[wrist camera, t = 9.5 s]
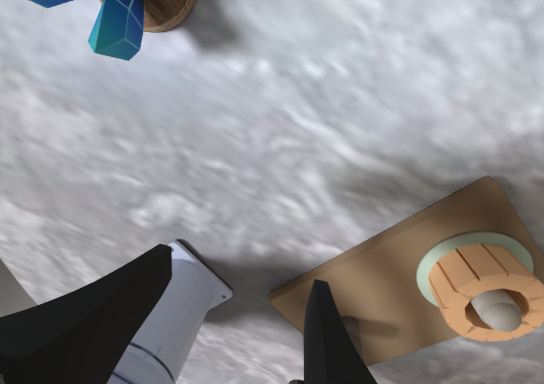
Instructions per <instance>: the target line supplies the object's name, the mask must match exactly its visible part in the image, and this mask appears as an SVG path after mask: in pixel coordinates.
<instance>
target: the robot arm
mask: <svg viewBox="0 0 544 384" xmlns="http://www.w3.org/2000/svg"><path fill="white" fill-rule="evenodd" d="M172 248H173V249H172ZM224 295H225V296H224ZM232 295H233V292H232V290H231V289H229V288H228V287H227V286H226V285H225V284H224V283H223V282H222V281H221V280H220V279H219V278H218V277H216V276H215V275H214V274H213V273H212V272H211V271H210V270H209V269H208V268H207V267H206V266H205V265H203V264H202V263H201V262H200V261H199V260H198V259H197V258H196V257H195V256H194V255H193V254H192V253H190V252H189V251H188V250H187V249H186V248H185V247H184V246H183V245H182V244H181V243H180V242H178V241H172V242H171V243H170V244H168V245H163V244H159V245H157V246H155V247H154V248H152V249H151V250H149V251H147V252H146V253H144V254H142V255H141V256H139V257H137V258H136V259H134V260H133V261H131V262H129V263H127V264H126V265H124V266H122V267H121V268H119V269H117V270H115V271H113V272H112V273H110V274H108V275H106V276H104V277H102V278H100V279H99V280H97V281H95V282H93V283H90V284H88V285H86V286H84V287H82V288H80V289H78V290H75V291H73V292H71V293H68V294H66V295H63V296H61V297H58V298H56V299H53V300H51V301H48V302H46V303H43V304H40V305H37V306H35V307H32V308H29V309H26V310H23V311H20V312H17V313H13V314H10V315H7V316H4V317H0V384H175V383H176V381H177V379H178V377H179V374H180V372H181V370H182V368H183V365H184V363H185V361H186V359H187V356H188V354H189V352H190V350H191V347H192V345H193V343H194V341H195V338H196V336H197V334H198V332H199V329H200V327H201V325H202V323H203V321H204V318H205V316H206V314H207V312H208V311H209V310H210V309H212V308H214V307H216V306H217V305H219V304H221V303H222V302H224V301H226V300H228V299H229V298H231V297H232ZM304 384H377V382H376V381H375V379H374V378H373V376H372V375H371V373H370V371H369V370H368V368H367V367H366V365H365V363H364V362H363V360H362V358H361V356H360V355H359V353H358V351H357V349H356V347H355V345H354V344H353V342H352V340H351V338H350V336H349V334H348V332H347V329H346V327H345V325H344V323H343V321H342V318H341V316H340V314H339V311H338V309H337V306H336V304H335V301H334V298H333V296H332V293H331V290H330V286H329V284H328V282H326V281H322V280H317V279H314V282H313V286H312V289H311V292H310V296H309V299H308V302H307V306H306V311H305V321H304Z"/></svg>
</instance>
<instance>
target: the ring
mask: <svg viewBox="0 0 544 384" xmlns="http://www.w3.org/2000/svg"><path fill="white" fill-rule="evenodd" d="M438 261H439V262H437V261H436V262H435V264H434V265H433V267H432V269H431V271H430V273H429V274H428V276H429V277H428V281H429V286H430V290H431V292H432V295H433V297H434V299H435V301H436V303H437V305H438V307H439V309H440V311H441V313H442V315H443V317H444V319H445V321H446V323H447V324H448V326H450V327H451V328H452V329H453V330H455V331H456V332H457V333H458V334H460V335H461V336H462V335H463V336H464V337H467V338H471V339H475V340H479V341H485V340H487V342H491V341H502V340H511V336H512V337H513V338H514V339H515V338H518V337H520V336H522V335H524V334H527V333H529V332H531V331H534V330H536V329H535V328H534V327H537V328H539V327H540V326H541V324H542V323H543V322H544V285H543V284H542V283H541V282H540V281H539V280H538V279H537V278H536V277H535V276H534V275H533V274H532V273H531V272H530V271H529V270H528V269H527V268H526V267H525V266H524V265H523V264H522V263H521V262H520V261H519V260H518V259H517V258H516V257H515V256H513V255H512V254H511V253H510V252H509V251H508V250H507V249H505V248H503V247H498V246H493V245H488V244H484V243H483V244H482V245H481V244H480V243H479V244H474V245H468V246H463V247H458V251H457V250H456V249H453V250H452V251H450V252H449V253H447V254H445V255H444V256H442V257H441V258H439V259H438ZM502 288H503V289H504V290H505V291H506V292H507V293H508V295H509V296H510V297H511V298H512V299H513V301H514V302H515V303H516V304H517V305H518V307H519V308H520V310H521V316H522V322H521V325H520V326H519V328H518V329H516V330H514V331H511V332H502V331H498V330H496V329H494V328H492V327H490V326H489V325H488V324H486V323H484V322H483V321H482V319H481V318H480V316H479V315H478V313H477V312H476V310H475V308H474V307H473V305H472V304H471V302H470V300H471V298H473V297H475V296H477V295H479V294H481V293H483V292H484V291H488V290H495V289H502Z"/></svg>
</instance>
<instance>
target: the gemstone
mask: <svg viewBox="0 0 544 384" xmlns="http://www.w3.org/2000/svg"><path fill="white" fill-rule="evenodd" d="M29 1H32V2H34V3H36V4H39V5H41V6H43V7H45V8H50V7H53V6H57V5H60V4H63V3H67V2H70V1H73V0H29ZM195 1H196V0H100V2H101V3H102V6H101V9H100V11H99V14H98V16H97V19H96V21H95V24H94V26H93V29H92V32H91V34H90V37H89V39H88V42H89V44H90V46H91V48H92V50H93V52H94V53H97V54H102V55H106V56H110V57H115V58H119V59H123V60H128V61H129V60H130V59H131V58H132V57H133V56H134V55H135V54H136V53H137V52H138V51H139V50H140V47H141V42H142V37H143V31H144V32H151V33H157V32H163V31H167V30H169V29H172V28H174V27H175V26H177V25H178V24H180V23H181V22H182V21H183V20H184V19H185V18H186V16H187V15H188V14H189V12H190V11H191V9H192V7H193V6H194V3H195Z"/></svg>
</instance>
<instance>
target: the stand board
mask: <svg viewBox="0 0 544 384" xmlns="http://www.w3.org/2000/svg"><path fill="white" fill-rule="evenodd" d="M479 243H480V244H481V245H482V244H483V243H484V244H488V245H493V246H498V247H503V248H505V249H507V250H508V251H509V252H510V253H511V254H512V255H513V256H515V257H516V258H517V259H518V260H519V261H520V262H521V263H522V264H523V265H524V266H525V267H526V268H527V269H528V270H529V271H530V272H531V273H532V274H533V275H534V276H535V277H536V278H537V279H538V280H539V281H540V282H541V283H542V284H543V285H544V256H543V255H542V253H541V251H540V250H539V248H538V247H537V245H536V243H535V242H534V240H533V239H532V237H531V235H530V234H529V232H528V231H527V229H526V227H525V226H524V224H523V223H522V221H521V219H520V218H519V216H518V215H517V213H516V212H515V210H514V208H513V207H512V205H511V204H510V202H509V200H508V199H507V197H506V196H505V194H504V192H503V191H502V189H501V188H500V186H499V184H498V183H497V182H496V181H494V180H493V179H491V178H490V177H488V176H485V177H483V178H481V179H479V180H477V181H475V182H474V183H472V184H470V185H468V186H466V187H464V188H463V189H461V190H459V191H457V192H455V193H453V194H451V195H450V196H448V197H446V198H444V199H442V200H440V201H438V202H437V203H435V204H433V205H431V206H429V207H427V208H426V209H424V210H422V211H420V212H418V213H416V214H414V215H413V216H411V217H409V218H407V219H405V220H403V221H402V222H400V223H398V224H396V225H394V226H392V227H390V228H389V229H387V230H385V231H383V232H381V233H379V234H378V235H376V236H374V237H372V238H370V239H368V240H366V241H365V242H363V243H361V244H359V245H357V246H355V247H353V248H352V249H350V250H348V251H346V252H344V253H342V254H341V255H339V256H337V257H335V258H333V259H331V260H329V261H328V262H326V263H324V264H322V265H320V266H318V267H317V268H315V269H313V270H311V271H309V272H307V273H305V274H304V275H302V276H300V277H298V278H296V279H294V280H293V281H291V282H289V283H287V284H285V285H283V286H281V287H280V288H278V289H276V290H274V291H272V292H271V294H270V298H269V303H270V304H271V305H272V306H273V307H275V308H276V309H277V310H278V311H279V312H280V313H281V314H282V315H283V316H284V317H285V318H286V319H287V320H288V321H289V322H290V323H291V324H292V325H293V326H294V327H296V328H297V329H298V330H299V331H300V332H301V333H302V334H303V335H304V321H305V311H306V306H307V302H308V299H309V296H310V292H311V289H312V286H313V282H314V279H317V280H322V281H326V282H328V284H329V286H330V290H331V293H332V296H333V298H334V301H335V304H336V306H337V309H338V311H339V314H340V316H341V318H342V321H343V323H344V325H345V327H346V329H347V332H348V334H349V336H350V338H351V340H352V342H353V344H354V345H355V347H356V349H357V351H358V353H359V355H360V356H361V358H362V360H363V362H364V363H365V365H366V367H367V366H370V365H373V364H376V363H379V362H382V361H385V360H388V359H391V358H394V357H397V356H400V355H403V354H406V353H409V352H412V351H415V350H418V349H421V348H424V347H427V346H430V345H434V344H437V343H440V342H443V341H446V340H449V339H452V338H455V337H458V336H461V335H460V334H458V333H457V332H456V331H455V330H453V329H452V328H451V327H450V326H448V324H447V323H446V321H445V319H444V317H443V315H442V313H441V311H440V309H439V307H438V305H437V303H436V301H435V299H434V297H433V295H432V292H431V290H430V286H429V281H428V277H429V276H428V274H429V273H430V271H431V269H432V267H433V265H434V264H435V262H436V261H437V262H439V261H438V259H439V258H441V257H442V256H444V255H445V254H447V253H449V252H450V251H452V250H453V249H456V250H457V251H458V247H463V246H468V245H474V244H479ZM470 302H471V304H472V305H473V307H474V308H475V310H476V312H477V313H478V315H479V316H480V318H481V319H482V321H483V322H484V323H486V324H488V325H489V326H490V327H492V328H494V329H496V330H498V331H502V332H511V331H514V330H516V329H518V328H519V326H520V325H521V322H522V316H521V310H520V308H519V307H518V305H517V304H516V303H515V302H514V301H513V299H512V298H511V297H510V296H509V295H508V293H507V292H506V291H505V290H504V289H503V288H502V289H495V290H488V291H484V292H483V293H481V294H479V295H477V296H475V297H473V298H471V300H470Z"/></svg>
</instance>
